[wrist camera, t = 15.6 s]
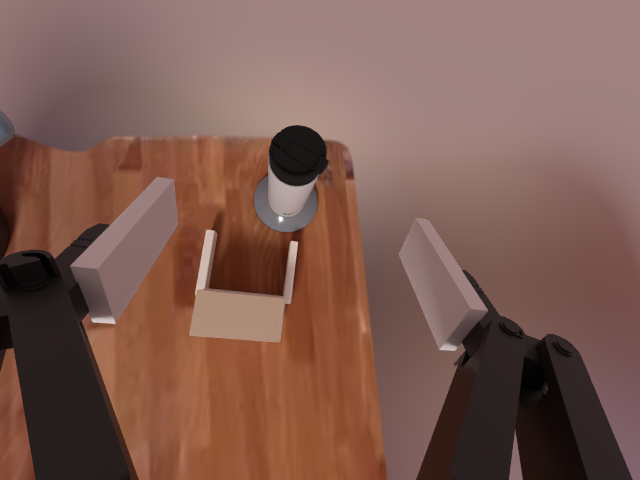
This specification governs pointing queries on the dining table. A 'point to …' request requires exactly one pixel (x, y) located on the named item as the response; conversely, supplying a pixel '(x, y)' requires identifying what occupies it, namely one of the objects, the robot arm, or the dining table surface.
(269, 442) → the dining table surface
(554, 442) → the robot arm
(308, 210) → the coaster
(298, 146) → the travel mug
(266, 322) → the beige u-shaped block
